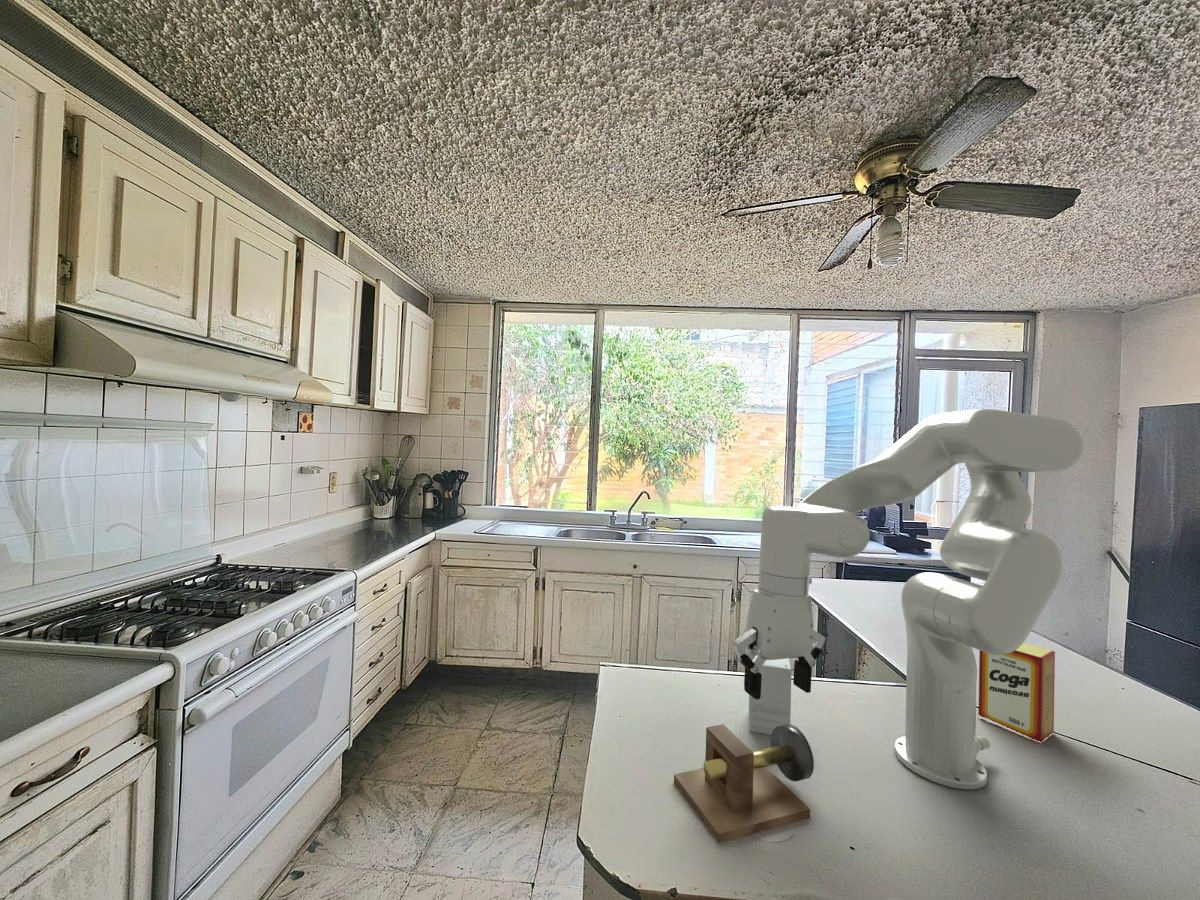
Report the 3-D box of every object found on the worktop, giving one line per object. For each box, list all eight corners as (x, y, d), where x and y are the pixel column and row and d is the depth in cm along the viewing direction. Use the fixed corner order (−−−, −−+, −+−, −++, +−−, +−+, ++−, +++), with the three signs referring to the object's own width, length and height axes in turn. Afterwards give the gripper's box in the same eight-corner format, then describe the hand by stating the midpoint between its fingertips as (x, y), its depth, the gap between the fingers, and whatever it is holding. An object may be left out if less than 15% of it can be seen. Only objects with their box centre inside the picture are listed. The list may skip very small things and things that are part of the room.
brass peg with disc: (784, 759, 76) (785, 714, 77) (818, 788, 70) (819, 739, 70) (693, 779, 71) (695, 731, 71) (721, 814, 64) (722, 760, 64)
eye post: (755, 764, 77) (756, 708, 78) (810, 817, 66) (811, 752, 66) (673, 782, 72) (675, 723, 73) (718, 843, 61) (720, 773, 61)
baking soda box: (1053, 734, 89) (1054, 649, 90) (1040, 744, 86) (1042, 655, 86) (992, 710, 97) (993, 632, 98) (978, 718, 94) (979, 638, 94)
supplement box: (788, 719, 91) (789, 653, 92) (790, 740, 84) (792, 669, 85) (748, 711, 94) (750, 647, 94) (747, 731, 87) (749, 662, 87)
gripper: (808, 576, 82) (803, 676, 81) (723, 579, 76) (717, 686, 76) (844, 588, 75) (838, 697, 74) (753, 592, 69) (746, 710, 69)
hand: (777, 691), depth 75 cm, fingers open, 9 cm apart
